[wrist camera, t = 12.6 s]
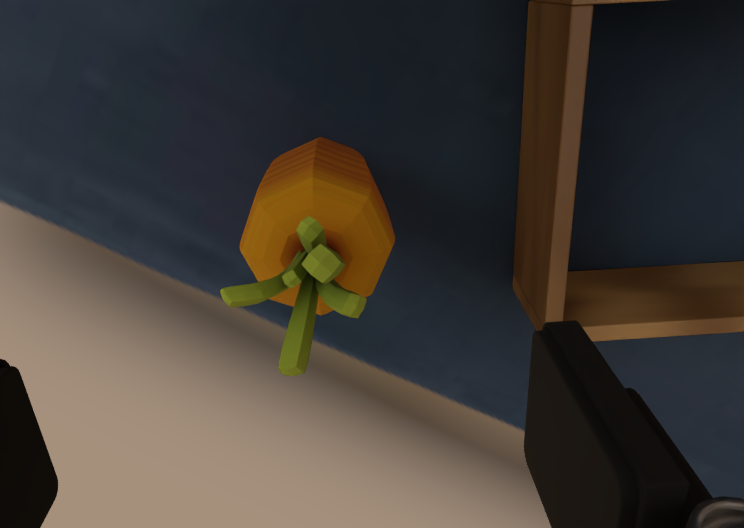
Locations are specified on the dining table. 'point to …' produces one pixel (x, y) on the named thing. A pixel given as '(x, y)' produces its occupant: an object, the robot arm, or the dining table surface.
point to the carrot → (314, 241)
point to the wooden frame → (556, 205)
